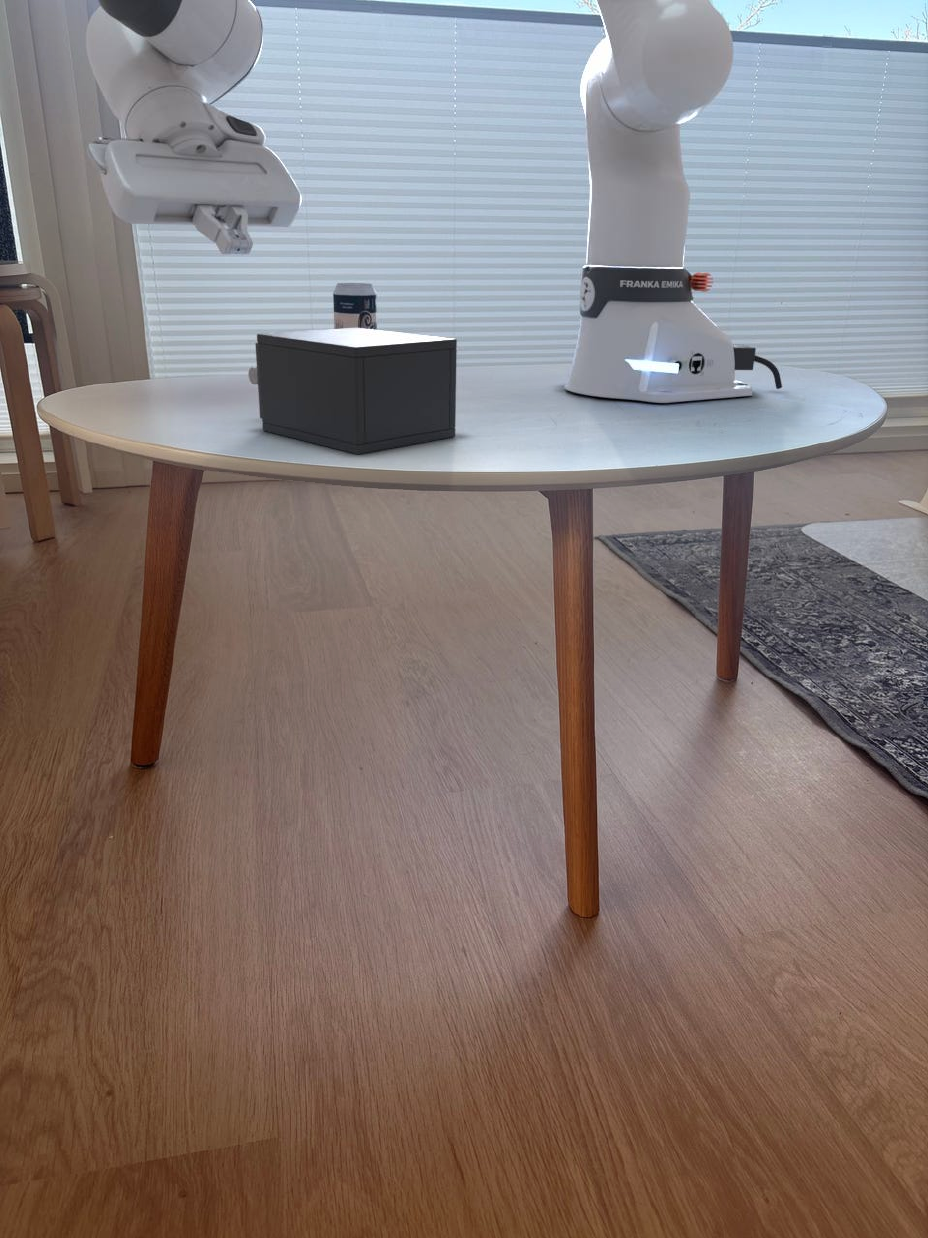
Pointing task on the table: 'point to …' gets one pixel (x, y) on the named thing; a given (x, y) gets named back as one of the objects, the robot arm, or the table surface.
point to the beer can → (355, 306)
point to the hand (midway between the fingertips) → (238, 249)
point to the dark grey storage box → (358, 387)
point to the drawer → (256, 378)
